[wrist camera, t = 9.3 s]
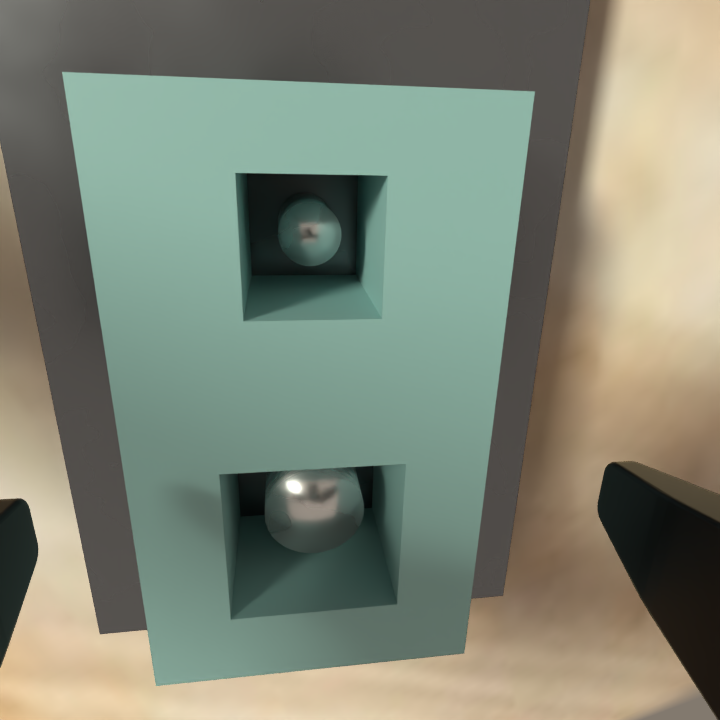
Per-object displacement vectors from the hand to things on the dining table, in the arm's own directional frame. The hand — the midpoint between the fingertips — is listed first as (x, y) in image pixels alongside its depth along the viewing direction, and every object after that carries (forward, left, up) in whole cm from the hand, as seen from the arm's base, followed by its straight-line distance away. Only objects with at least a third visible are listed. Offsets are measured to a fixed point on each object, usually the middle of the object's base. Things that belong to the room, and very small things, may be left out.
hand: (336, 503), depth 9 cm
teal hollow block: (0, 0, -6) cm, 6 cm away
